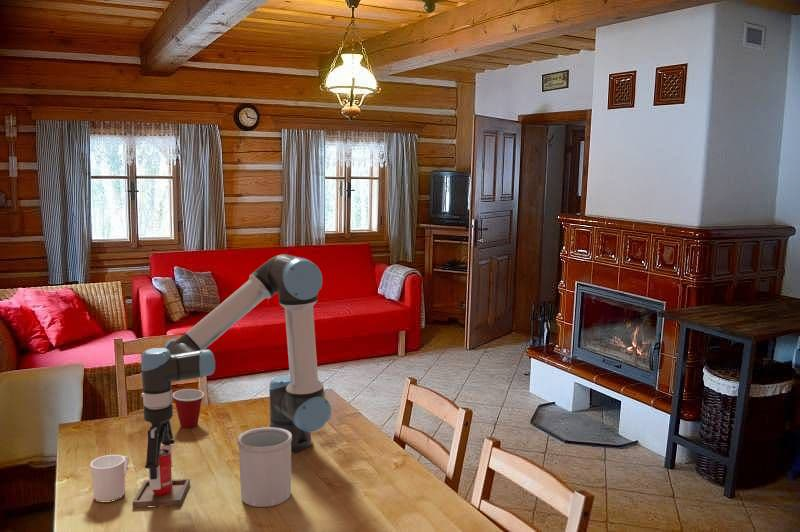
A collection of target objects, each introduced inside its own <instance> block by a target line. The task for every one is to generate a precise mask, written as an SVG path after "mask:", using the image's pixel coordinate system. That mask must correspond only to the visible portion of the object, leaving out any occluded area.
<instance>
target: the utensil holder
mask: <svg viewBox="0 0 800 532" xmlns="http://www.w3.org/2000/svg"><path fill="white" fill-rule="evenodd" d="M291 441H292V434H291V433H290V432H289V431H288V430H285V429H281V428H273V427H269V426H268V427H267V426H266V427H257V428H252V429H248V430H246V431H244V432H242V433H241V434H240V435H238V437H237V445H238V457H239V458H238V459H239V480H240V481H239V482H240V497H241V500H242V502H243V503H244V504H246V505H247V506H251V507H255V508H256V507H257V508H268V507H273V506H277V505H280V504H283V503H285V502H286V501H287V500H288V499H289V498H290V496H291V489H292V486H291V483H292V453H291Z"/></svg>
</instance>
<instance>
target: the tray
mask: <svg viewBox="0 0 800 532" xmlns="http://www.w3.org/2000/svg"><path fill="white" fill-rule="evenodd" d="M190 486H191V479H190V478H180V479H179V478H178V479H174V478H172V490H171V493H170V494H169V495H167V496H163V497H158V496H155V495H154V492H153V490H150V485H149V479H148V480H146V479H145V480H144V482H143V483H142V485H141V487H140V488H139V490H138V492H137V493H136V495H135V497H134V499H133V500H132V501H131V502H132V503H131V504H132V508H133V507H148V506H173V507H181V506H182V503H183V501H184V499H185V497H186V495H187V492H188V490H189V488H190ZM148 508H149V507H148Z"/></svg>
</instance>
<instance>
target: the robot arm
mask: <svg viewBox="0 0 800 532" xmlns="http://www.w3.org/2000/svg"><path fill="white" fill-rule="evenodd" d="M322 287H323V274H322V271H321V270H320V267H318V265H317V264H315V262H312V261H311V260H310V259H308V258H305V257H299V256H295V255H292V254H289V253H282V254H278V255H275V256H273V257H271V258H269V259H268V260H267V261H265V262H264V263H262V264H261V265H260V266H259V267H258V268H256V269H255V270H254V271H253V272H252V273H251V274H249V278H248V280H247V281H246V282H244V283H243V284H242V285H241V286H240V287H239V288H238V289H236V290H235V291H233V293H232V294H230V295H229V296H228V297H227V298H225V300H224V301H222V302H221V303H220V304H218V305H217V306H216V307H215V308H214V309H213V310H211V311H210V312H209V313H208V314H207V315H205V316H204V317H203V318H202V319H200V321H198V322H197V323H196V324H195V325H194V326H192V327H191V328H190V329H189V330H188V331H186V332H184V334H183V335H181V336H180V337H179V338H171V339H170V340H168V341H167V342H166V343H165V344H164V347H151V348H148V349H145V350H144V351H143V352H142V354H141V362H140V363H141V366H140V370H141V383H142V384H141V385H142V393H141V394H140V397H142V398H143V399H142V402H143V420H144V421H146V422H147V423H150V424H151V426H150V428H149V429H148V431H147V445H146V446H147V449H146V462H145V465H144V468H145V469H147V470H148V480H149V485H150V490H157V489H161V483H160V465H159V456H160V449H167V450H169V451H170V454H171V468H173V453H172V452H173V450H172V445H174V444H175V439H174V434H173V429H172V425H171V421H170V420H171V419H172V418H173V416H174V412H173V411H174V410H173V404H172V403H173V391H172V388H173V387H172V383H174V382H180V381H186V380H192V379H199V378H200V379H203V378H204V377H207V376H212V375H213V374H214V373H215V371H216V359H215V355H214V353H213V352H212V350H210V349H207V348H208V347H209V346H210V345H212V344H213V343H214V342H215V341H217V340H218V339H219V338H220V337H221V336H222V335H224V334H225V333H226V332H227V331H228V330H230V329H231V328H232V327H233V326H234V325H235V324H236V323H238V322H239V321H240V320H241V319H242V318H243V317H245V316H246V315H247V314H248V313H249V312H251V311H252V310H253V309H254V308H255V307H256V306H258V305H259V304H260V303H261V302H262V301H264V300H265V299H271V298H272V297H273V296H275V295H276V294H278V304H279V305H280V306H281V307H283V308H284V316H285V331H286V342H287V344H286V345H287V355H288V368H289V374H288V375H283V376H277V377H274V378H273V379H271V380H270V382H269V389H268V391H269V415H270V417H269V419H270V420H269V421H270V423H269V426H268V427H273V428H281V429H285V430H288V431H289V432H290V433H291V434H292V441H291V454H292V453H297V452H298V453H299V452H302V451H304V450H307V449H308V448H310V446H311V445H312V434H311V433H312V432H316V431H318V430H320V429H321V428H323V427H325V425H326V423H328V421H329V419H330V417H331V413H332V407H331V404H330V403H329V400H328V399H327V398H326V397H325V398H324V392H325V390H324V389H325V388H324V383H323V382H322V381H320V380H319V376H318V359H317V346H316V345H317V344H316V331H315V315H314V305H316V303H317V302H318V294H319V291H320V290H322Z"/></svg>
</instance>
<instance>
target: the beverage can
mask: <svg viewBox="0 0 800 532" xmlns="http://www.w3.org/2000/svg"><path fill="white" fill-rule="evenodd" d="M159 465H160V483H161V489H157V490H153V492H154V495H155V496H158V497H163V496H167V495H169V494H170V493H171V490H172V479H173V477H172V467H171V454H170V451H169V450H167V449H161V448H160V456H159Z"/></svg>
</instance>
